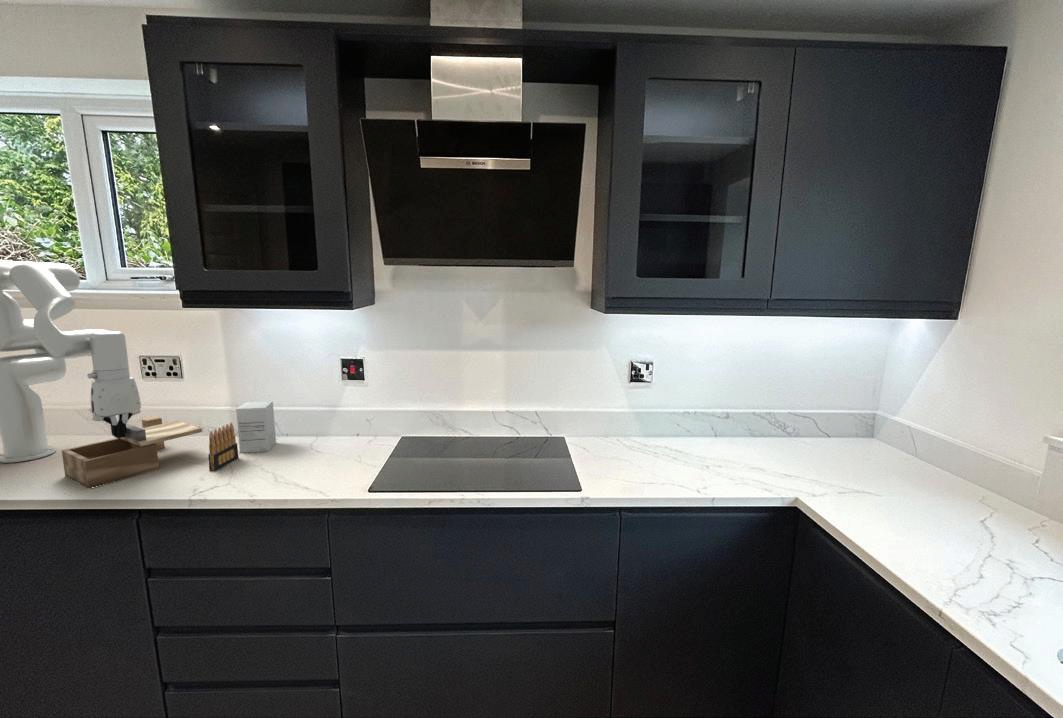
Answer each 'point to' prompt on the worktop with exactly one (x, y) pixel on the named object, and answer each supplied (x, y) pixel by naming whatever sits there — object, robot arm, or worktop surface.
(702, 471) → the worktop surface
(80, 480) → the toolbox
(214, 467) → the ammunition clip
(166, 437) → the lid
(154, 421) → the brown wooden block
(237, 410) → the supplement box
